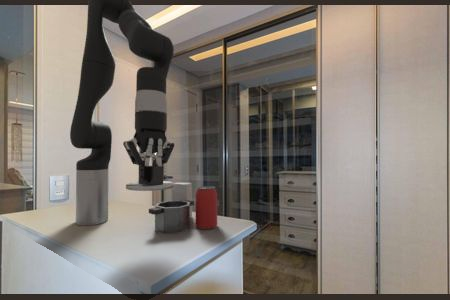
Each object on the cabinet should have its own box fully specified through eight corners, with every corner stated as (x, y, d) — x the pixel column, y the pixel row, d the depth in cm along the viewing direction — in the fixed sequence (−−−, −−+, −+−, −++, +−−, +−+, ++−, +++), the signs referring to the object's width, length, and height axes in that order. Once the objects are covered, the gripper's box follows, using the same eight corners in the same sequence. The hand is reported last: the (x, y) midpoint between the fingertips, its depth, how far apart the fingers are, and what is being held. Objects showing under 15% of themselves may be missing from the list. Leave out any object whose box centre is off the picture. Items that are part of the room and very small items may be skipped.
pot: (141, 230, 66) (141, 206, 66) (180, 218, 78) (180, 198, 78) (163, 238, 60) (163, 211, 60) (202, 224, 72) (202, 201, 72)
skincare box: (192, 216, 81) (192, 182, 81) (186, 219, 76) (186, 184, 77) (177, 215, 82) (177, 182, 83) (170, 218, 78) (171, 183, 79)
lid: (116, 187, 55) (116, 165, 55) (155, 182, 64) (156, 164, 64) (143, 192, 48) (143, 168, 48) (183, 186, 57) (183, 165, 57)
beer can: (214, 230, 65) (214, 189, 66) (192, 229, 67) (192, 188, 67) (219, 223, 72) (219, 186, 72) (199, 222, 73) (199, 185, 73)
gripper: (164, 116, 64) (163, 178, 64) (116, 108, 53) (114, 183, 52) (182, 114, 59) (181, 180, 59) (133, 105, 48) (132, 186, 48)
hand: (150, 181), depth 56 cm, fingers closed on lid
